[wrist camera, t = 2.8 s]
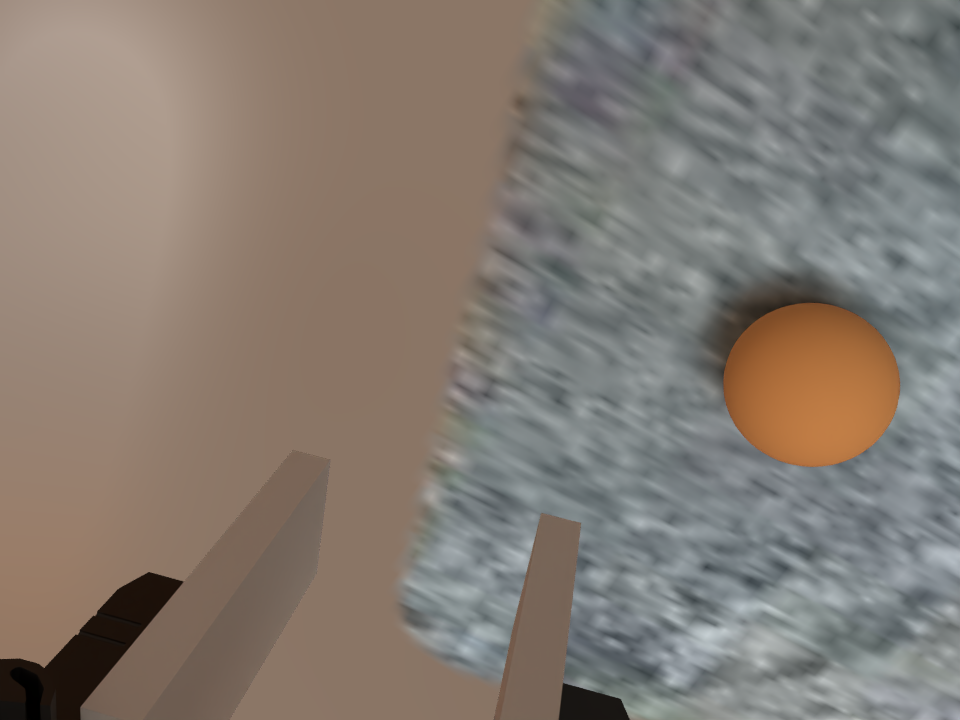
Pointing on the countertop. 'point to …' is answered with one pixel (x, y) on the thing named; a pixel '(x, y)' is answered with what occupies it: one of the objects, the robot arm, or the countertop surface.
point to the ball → (811, 384)
